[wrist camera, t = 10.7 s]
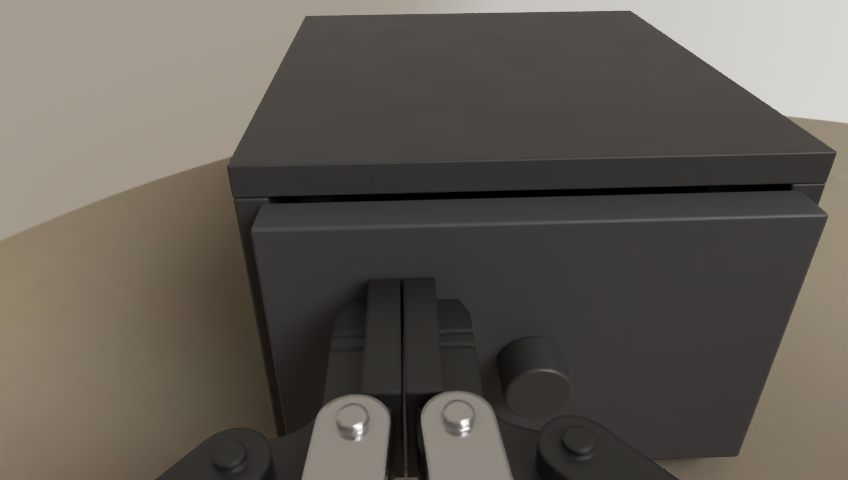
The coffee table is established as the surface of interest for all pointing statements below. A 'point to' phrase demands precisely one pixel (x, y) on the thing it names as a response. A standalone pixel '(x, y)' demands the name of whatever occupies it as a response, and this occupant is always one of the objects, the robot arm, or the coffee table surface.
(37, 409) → the coffee table surface
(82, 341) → the coffee table surface
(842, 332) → the coffee table surface
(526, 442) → the robot arm
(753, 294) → the drawer
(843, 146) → the coffee table surface
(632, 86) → the cabinet
